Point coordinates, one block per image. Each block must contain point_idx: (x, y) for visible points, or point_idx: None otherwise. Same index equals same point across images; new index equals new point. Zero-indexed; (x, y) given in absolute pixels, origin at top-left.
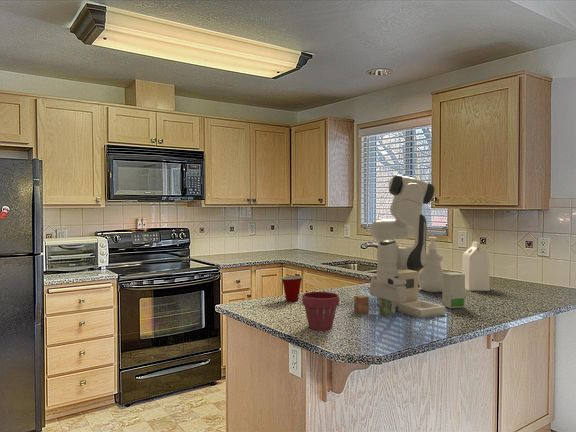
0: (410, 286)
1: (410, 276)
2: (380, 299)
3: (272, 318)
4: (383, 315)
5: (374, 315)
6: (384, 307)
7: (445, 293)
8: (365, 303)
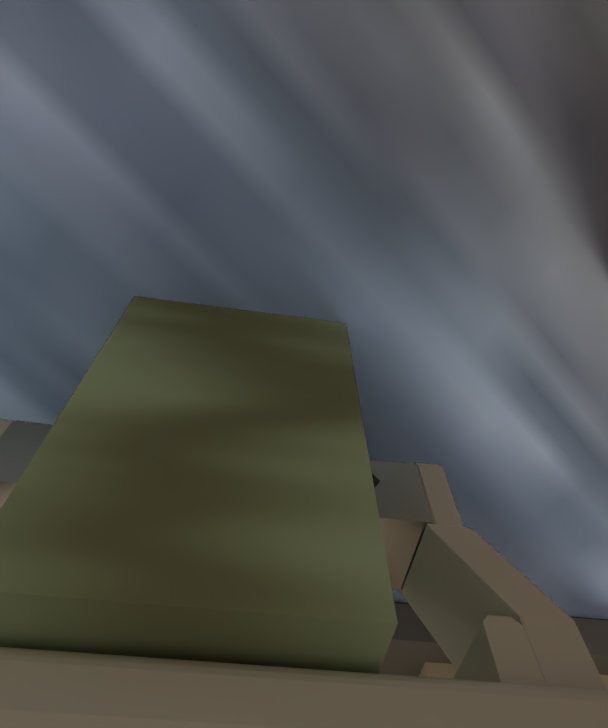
0: None
1: None
2: (333, 602)
3: None
4: (220, 314)
5: (374, 202)
6: (148, 412)
7: None
8: None
